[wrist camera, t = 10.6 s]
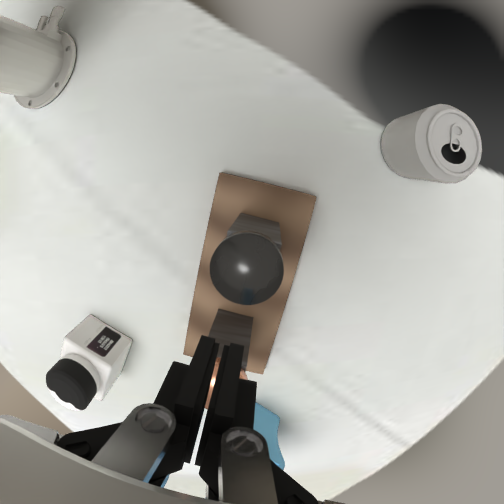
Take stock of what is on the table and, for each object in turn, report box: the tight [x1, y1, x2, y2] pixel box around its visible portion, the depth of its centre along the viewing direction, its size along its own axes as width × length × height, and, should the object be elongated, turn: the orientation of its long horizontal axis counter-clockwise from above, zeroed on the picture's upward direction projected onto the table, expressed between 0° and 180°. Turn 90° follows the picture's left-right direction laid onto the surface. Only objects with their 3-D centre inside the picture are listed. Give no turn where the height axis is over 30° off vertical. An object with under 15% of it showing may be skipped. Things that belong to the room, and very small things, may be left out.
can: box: [381, 104, 482, 183], centre depth 28 cm, size 8×8×12 cm
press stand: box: [183, 173, 317, 374], centre depth 33 cm, size 24×11×12 cm, turn 166°
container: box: [46, 315, 132, 411], centre depth 37 cm, size 8×8×13 cm
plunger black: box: [210, 230, 284, 305], centre depth 30 cm, size 6×6×12 cm
